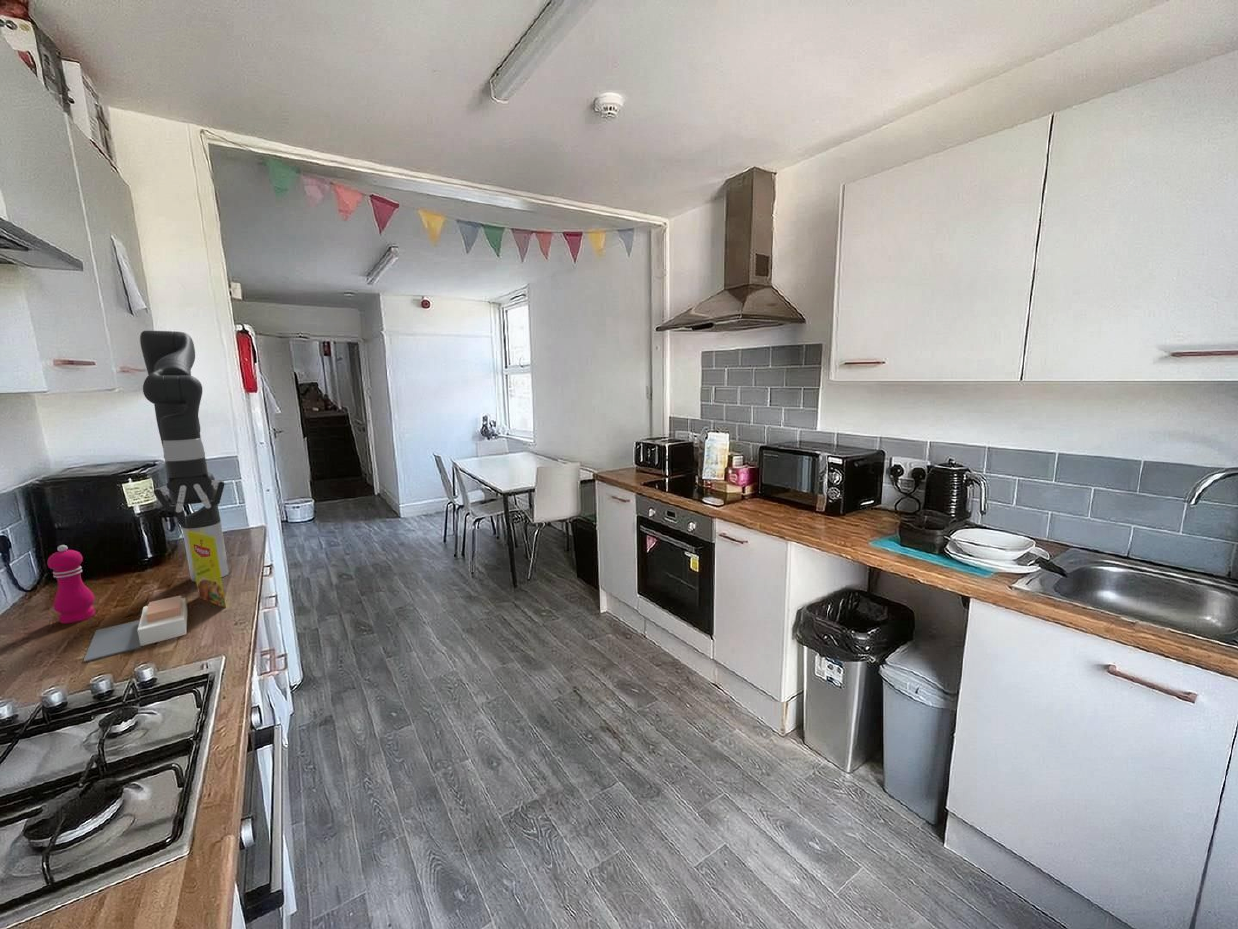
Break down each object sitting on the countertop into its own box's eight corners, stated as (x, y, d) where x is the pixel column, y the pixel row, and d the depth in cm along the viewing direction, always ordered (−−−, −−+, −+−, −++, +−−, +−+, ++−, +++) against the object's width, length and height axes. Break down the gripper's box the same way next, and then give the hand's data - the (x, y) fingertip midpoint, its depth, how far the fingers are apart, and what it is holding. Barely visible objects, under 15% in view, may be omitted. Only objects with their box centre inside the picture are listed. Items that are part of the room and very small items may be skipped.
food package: (196, 597, 139) (184, 530, 135) (201, 596, 140) (189, 529, 136) (223, 608, 132) (212, 538, 128) (228, 606, 133) (217, 536, 129)
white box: (146, 621, 125) (143, 606, 125) (187, 611, 130) (185, 597, 130) (140, 646, 113) (137, 630, 113) (186, 634, 118) (183, 619, 118)
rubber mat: (96, 631, 120) (96, 630, 120) (146, 619, 126) (146, 618, 126) (83, 662, 107) (83, 661, 107) (140, 648, 112) (139, 646, 112)
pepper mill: (104, 613, 130) (89, 541, 127) (68, 626, 123) (51, 551, 120) (86, 610, 132) (71, 539, 129) (50, 622, 125) (32, 548, 122)
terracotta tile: (150, 609, 123) (149, 602, 123) (182, 602, 127) (180, 595, 126) (147, 622, 116) (146, 614, 116) (181, 614, 120) (179, 607, 120)
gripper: (221, 452, 128) (231, 515, 131) (146, 458, 119) (159, 526, 122) (222, 455, 122) (232, 521, 125) (144, 462, 113) (157, 533, 116)
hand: (196, 523), depth 123 cm, fingers open, 4 cm apart
